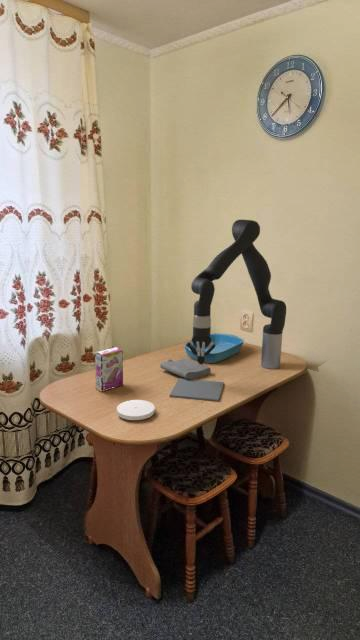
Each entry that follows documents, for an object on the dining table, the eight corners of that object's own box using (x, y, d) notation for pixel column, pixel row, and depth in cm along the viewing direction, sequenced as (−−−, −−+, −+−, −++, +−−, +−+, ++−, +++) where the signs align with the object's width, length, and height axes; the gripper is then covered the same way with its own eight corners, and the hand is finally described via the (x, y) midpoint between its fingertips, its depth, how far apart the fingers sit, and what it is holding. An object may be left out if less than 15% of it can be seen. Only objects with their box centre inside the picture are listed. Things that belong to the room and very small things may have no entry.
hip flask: (186, 372, 190) (156, 361, 204) (185, 381, 191) (156, 369, 205) (210, 367, 201) (181, 356, 215) (210, 375, 201) (181, 364, 216)
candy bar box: (102, 392, 179) (101, 354, 175) (95, 389, 183) (94, 352, 179) (124, 385, 187) (123, 349, 183) (117, 382, 190) (116, 346, 186)
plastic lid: (155, 422, 155) (155, 415, 155) (115, 423, 154) (115, 416, 153) (154, 405, 169) (154, 399, 168) (118, 406, 168) (117, 400, 167)
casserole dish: (212, 368, 209) (212, 354, 207) (176, 359, 222) (176, 345, 220) (250, 350, 237) (250, 338, 235) (215, 343, 250) (216, 331, 248)
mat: (179, 379, 194) (179, 378, 194) (223, 383, 190) (223, 382, 190) (169, 396, 176) (169, 395, 176) (218, 401, 172) (218, 399, 172)
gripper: (218, 324, 186) (217, 362, 190) (188, 322, 189) (187, 359, 193) (216, 328, 179) (215, 368, 183) (184, 326, 181) (184, 365, 186)
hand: (200, 363), depth 188 cm, fingers closed
